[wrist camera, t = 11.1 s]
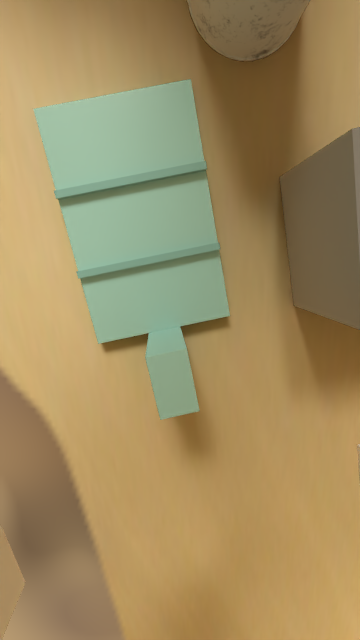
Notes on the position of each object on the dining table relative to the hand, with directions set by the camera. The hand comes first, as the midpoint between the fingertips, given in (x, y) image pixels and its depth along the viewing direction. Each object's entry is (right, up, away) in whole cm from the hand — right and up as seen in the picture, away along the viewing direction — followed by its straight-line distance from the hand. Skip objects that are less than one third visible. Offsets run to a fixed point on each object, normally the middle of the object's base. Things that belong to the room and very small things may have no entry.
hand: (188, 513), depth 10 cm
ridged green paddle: (-3, +13, +16) cm, 21 cm away
